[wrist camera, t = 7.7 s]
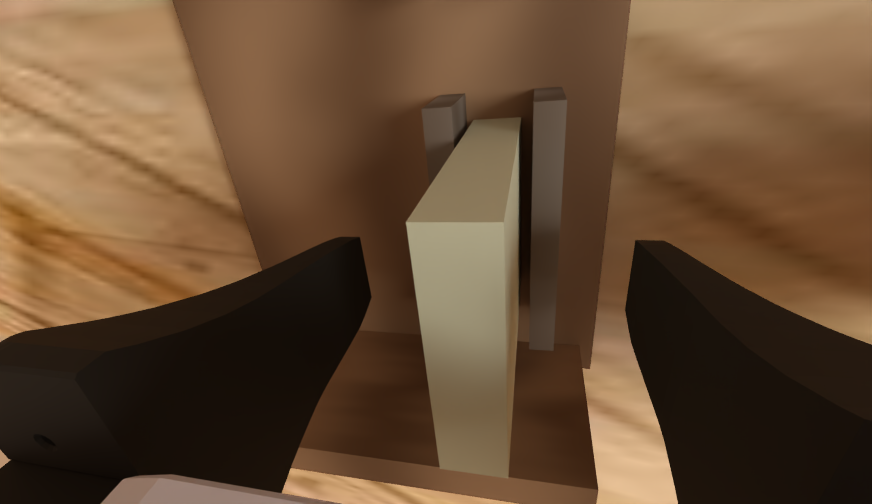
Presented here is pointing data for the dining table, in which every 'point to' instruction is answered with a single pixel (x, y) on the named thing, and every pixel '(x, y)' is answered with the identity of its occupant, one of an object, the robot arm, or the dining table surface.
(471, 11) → the rack
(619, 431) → the dining table surface
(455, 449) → the beige flat block
